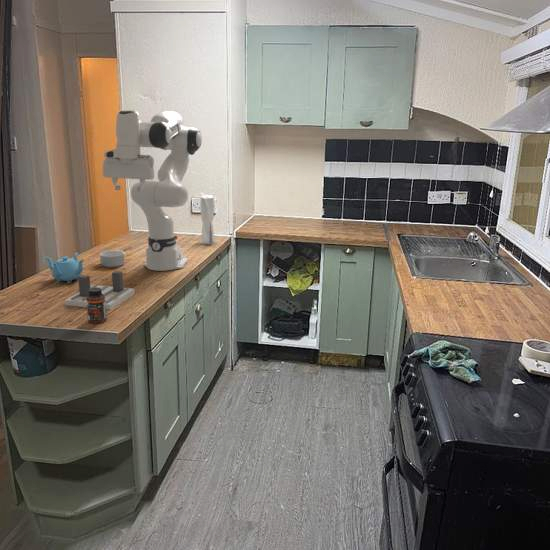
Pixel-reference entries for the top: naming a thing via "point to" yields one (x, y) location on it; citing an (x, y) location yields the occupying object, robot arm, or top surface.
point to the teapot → (66, 268)
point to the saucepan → (113, 257)
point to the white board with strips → (110, 297)
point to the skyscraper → (207, 219)
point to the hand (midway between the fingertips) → (128, 190)
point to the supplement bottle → (96, 306)
